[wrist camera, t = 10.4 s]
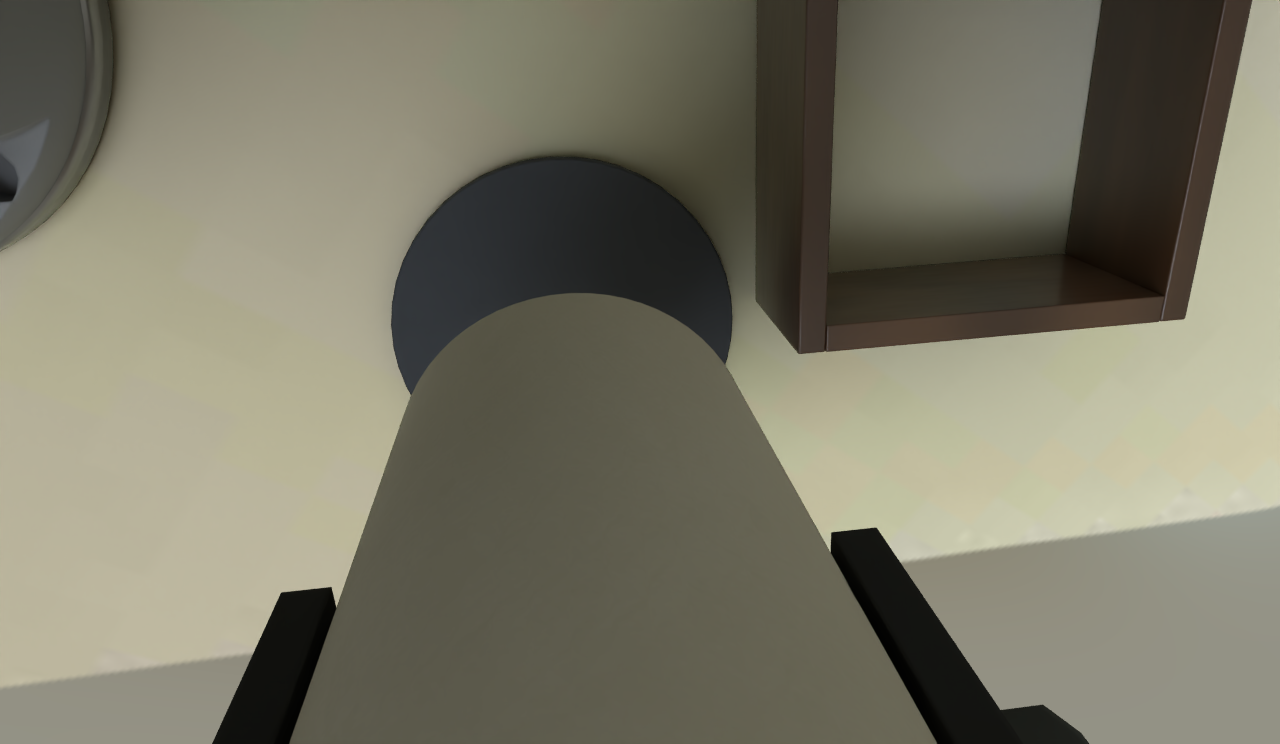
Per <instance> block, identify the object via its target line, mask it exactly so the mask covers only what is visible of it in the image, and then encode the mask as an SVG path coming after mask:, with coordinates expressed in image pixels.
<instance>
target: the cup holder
mask: <svg viewBox="0 0 1280 744" xmlns="http://www.w3.org/2000/svg"><path fill="white" fill-rule="evenodd" d="M1251 4H1252V0H1103V4H1102V11H1101V18H1100V24H1099V31H1098V38H1097V45H1096V51H1095V58H1094V65H1093V72H1092V78H1091V85H1090V92H1089V99H1088V105H1087V112H1086V119H1085V126H1084V132H1083V139H1082V146H1081V152H1080V159H1079V166H1078V173H1077V179H1076V186H1075V193H1074V200H1073V206H1072V213H1071V220H1070V227H1069V233H1068V240H1067V247H1066V253H1065V254H1055V255H1043V256H1031V257H1019V258H1007V259H995V260H982V261H970V262H958V263H946V264H934V265H921V266H909V267H897V268H885V269H873V270H860V271H848V272H836V273H828V259H829V232H830V205H831V178H832V151H833V124H834V97H835V69H836V42H837V15H838V0H757V68H756V302H757V303H758V304H759V305H760V307H761V308H762V309H763V310H764V312H765V313H766V314H767V315H768V317H769V318H770V319H771V320H772V322H773V323H774V324H775V325H776V326H777V328H778V329H779V330H780V331H781V333H782V334H783V335H784V336H785V338H786V339H787V340H788V341H789V343H790V344H791V345H792V346H793V348H794V349H795V350H796V351H797V353H799V354H804V353H815V352H824V351H826V352H829V351H840V350H851V349H863V348H874V347H885V346H896V345H907V344H918V343H929V342H940V341H951V340H962V339H973V338H984V337H996V336H1007V335H1018V334H1029V333H1040V332H1051V331H1062V330H1073V329H1084V328H1095V327H1106V326H1117V325H1129V324H1140V323H1151V322H1159V321H1169V320H1181V319H1185V316H1186V311H1187V307H1188V302H1189V297H1190V292H1191V288H1192V283H1193V278H1194V274H1195V269H1196V264H1197V259H1198V255H1199V250H1200V245H1201V240H1202V236H1203V231H1204V226H1205V221H1206V217H1207V212H1208V207H1209V203H1210V198H1211V193H1212V188H1213V184H1214V179H1215V174H1216V169H1217V165H1218V160H1219V155H1220V151H1221V146H1222V141H1223V136H1224V132H1225V127H1226V122H1227V117H1228V113H1229V108H1230V103H1231V98H1232V94H1233V89H1234V84H1235V80H1236V75H1237V70H1238V65H1239V61H1240V56H1241V51H1242V46H1243V42H1244V37H1245V32H1246V27H1247V23H1248V18H1249V13H1250V9H1251Z"/></svg>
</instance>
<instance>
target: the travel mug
mask: <svg viewBox="0 0 1280 744" xmlns="http://www.w3.org/2000/svg"><path fill="white" fill-rule="evenodd" d="M289 744H937V742H936V740H935V739H934V737H933V735H932V733H931V732H930V730H929V728H928V726H927V724H926V723H925V721H924V719H923V717H922V715H921V714H920V712H919V710H918V708H917V706H916V705H915V703H914V701H913V699H912V698H911V696H910V694H909V692H908V690H907V689H906V687H905V685H904V683H903V681H902V680H901V678H900V676H899V674H898V672H897V671H896V669H895V667H894V665H893V664H892V662H891V660H890V658H889V656H888V655H887V653H886V651H885V649H884V647H883V646H882V644H881V642H880V640H879V638H878V637H877V635H876V633H875V631H874V630H873V628H872V626H871V624H870V622H869V621H868V619H867V617H866V615H865V613H864V612H863V610H862V608H861V606H860V605H859V603H858V601H857V599H856V597H855V596H854V594H853V592H852V590H851V588H850V587H849V585H848V583H847V581H846V579H845V578H844V576H843V574H842V572H841V571H840V569H839V567H838V565H837V563H836V562H835V560H834V558H833V556H832V554H831V553H830V551H829V549H828V547H827V545H826V544H825V542H824V540H823V538H822V537H821V535H820V533H819V531H818V529H817V528H816V526H815V524H814V522H813V520H812V519H811V517H810V515H809V513H808V511H807V510H806V508H805V506H804V504H803V503H802V501H801V499H800V497H799V495H798V494H797V492H796V490H795V488H794V486H793V485H792V483H791V481H790V479H789V478H788V476H787V474H786V472H785V470H784V469H783V467H782V465H781V463H780V461H779V460H778V458H777V456H776V454H775V452H774V451H773V449H772V447H771V445H770V444H769V442H768V440H767V438H766V436H765V435H764V433H763V431H762V429H761V427H760V426H759V424H758V422H757V420H756V418H755V417H754V415H753V413H752V411H751V410H750V408H749V406H748V404H747V402H746V401H745V399H744V397H743V395H742V393H741V392H740V390H739V388H738V386H737V384H736V383H735V381H734V379H733V377H732V376H731V374H730V372H729V371H728V369H727V368H726V366H725V365H724V363H723V362H722V360H721V359H720V358H719V357H718V355H717V354H716V353H715V352H714V350H713V349H712V348H711V347H710V346H709V345H708V344H707V343H706V342H705V341H704V340H703V339H702V338H701V337H699V336H698V335H697V334H696V333H695V332H693V331H692V330H691V329H690V328H688V327H687V326H685V325H684V324H682V323H681V322H679V321H678V320H676V319H675V318H673V317H671V316H669V315H667V314H665V313H663V312H662V311H660V310H657V309H655V308H652V307H650V306H647V305H645V304H643V303H639V302H636V301H632V300H629V299H626V298H621V297H615V296H610V295H603V294H592V293H567V294H556V295H549V296H543V297H538V298H533V299H530V300H526V301H523V302H519V303H516V304H513V305H511V306H508V307H506V308H503V309H501V310H498V311H496V312H494V313H492V314H490V315H488V316H486V317H484V318H482V319H481V320H479V321H478V322H476V323H475V324H473V325H471V326H470V327H468V328H467V329H465V330H464V331H463V332H462V333H460V334H459V335H458V336H457V337H455V338H454V339H453V340H452V341H451V342H450V343H449V344H448V345H447V346H446V347H445V348H444V349H443V350H442V351H441V352H440V353H439V354H438V355H437V356H436V357H435V359H434V360H433V361H432V362H431V363H430V365H429V366H428V367H427V369H426V370H425V372H424V373H423V375H422V376H421V378H420V379H419V381H418V383H417V385H416V387H415V389H414V391H413V393H412V395H411V397H410V400H409V402H408V405H407V408H406V410H405V413H404V416H403V419H402V422H401V425H400V427H399V430H398V433H397V436H396V439H395V442H394V445H393V448H392V450H391V453H390V456H389V459H388V462H387V465H386V468H385V470H384V473H383V476H382V479H381V482H380V485H379V488H378V491H377V493H376V496H375V499H374V502H373V505H372V508H371V511H370V513H369V516H368V519H367V522H366V525H365V528H364V531H363V534H362V536H361V539H360V542H359V545H358V548H357V551H356V554H355V556H354V559H353V562H352V565H351V568H350V571H349V574H348V577H347V579H346V582H345V585H344V588H343V591H342V594H341V597H340V599H339V602H338V605H337V608H336V611H335V614H334V617H333V620H332V622H331V625H330V628H329V631H328V634H327V637H326V640H325V642H324V645H323V648H322V651H321V654H320V657H319V660H318V663H317V665H316V668H315V671H314V674H313V677H312V680H311V683H310V685H309V688H308V691H307V694H306V697H305V700H304V703H303V706H302V708H301V711H300V714H299V717H298V720H297V723H296V726H295V728H294V731H293V734H292V737H291V740H290V743H289Z"/></svg>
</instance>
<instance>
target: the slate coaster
mask: <svg viewBox="0 0 1280 744" xmlns="http://www.w3.org/2000/svg"><path fill="white" fill-rule="evenodd" d="M567 293H592V294H603V295H610V296H615V297H621V298H626V299H629V300H632V301H636V302H639V303H643V304H645V305H647V306H650V307H652V308H655V309H657V310H660V311H662V312H663V313H665V314H667V315H669V316H671V317H673V318H675V319H676V320H678V321H679V322H681V323H682V324H684V325H685V326H687V327H688V328H690V329H691V330H692V331H693V332H695V333H696V334H697V335H698V336H699V337H701V338H702V339H703V340H704V341H705V342H706V343H707V344H708V345H709V346H710V347H711V348H712V349H713V350H714V352H715V353H716V354H717V355H718V357H719V358H720V359H721V360H722V362H723V363H724V365H725V363H726V360H727V357H728V352H729V347H730V342H731V333H732V305H731V295H730V291H729V286H728V281H727V277H726V274H725V271H724V268H723V266H722V263H721V260H720V257H719V255H718V253H717V251H716V250H715V248H714V246H713V244H712V242H711V240H710V238H709V237H708V235H707V234H706V232H705V231H704V230H703V228H702V227H701V226H700V224H699V223H698V221H697V220H696V219H695V218H694V216H693V215H692V214H691V213H690V212H689V211H688V210H687V209H686V208H685V207H684V206H683V205H682V204H681V203H680V202H679V201H678V200H677V199H676V198H674V197H673V196H672V195H671V194H669V193H668V192H667V191H666V190H664V189H663V188H662V187H661V186H659V185H657V184H656V183H654V182H652V181H650V180H649V179H647V178H645V177H644V176H642V175H640V174H638V173H635V172H633V171H631V170H628V169H626V168H623V167H621V166H618V165H615V164H611V163H607V162H603V161H600V160H595V159H588V158H580V157H544V158H537V159H529V160H524V161H521V162H517V163H513V164H510V165H506V166H503V167H501V168H498V169H496V170H494V171H491V172H489V173H487V174H484V175H482V176H480V177H479V178H477V179H475V180H474V181H472V182H470V183H469V184H467V185H465V186H464V187H462V188H461V189H459V190H458V191H457V192H456V193H454V194H453V195H452V196H451V197H450V198H448V199H447V200H446V201H445V202H443V204H442V205H441V206H440V207H439V208H438V209H437V210H436V211H435V212H434V213H433V214H432V215H431V216H430V217H429V219H428V220H427V221H426V223H425V224H424V226H423V227H422V228H421V230H420V231H419V233H418V234H417V236H416V237H415V239H414V240H413V242H412V244H411V246H410V248H409V250H408V252H407V254H406V256H405V258H404V260H403V263H402V266H401V269H400V272H399V275H398V277H397V280H396V285H395V290H394V296H393V301H392V318H391V328H392V337H393V347H394V351H395V355H396V359H397V363H398V367H399V369H400V372H401V374H402V377H403V379H404V382H405V384H406V387H407V389H408V390H409V392H410V394H411V395H412V393H413V391H414V389H415V387H416V385H417V383H418V381H419V379H420V378H421V376H422V375H423V373H424V372H425V370H426V369H427V367H428V366H429V365H430V363H431V362H432V361H433V360H434V359H435V357H436V356H437V355H438V354H439V353H440V352H441V351H442V350H443V349H444V348H445V347H446V346H447V345H448V344H449V343H450V342H451V341H452V340H453V339H454V338H455V337H457V336H458V335H459V334H460V333H462V332H463V331H464V330H465V329H467V328H468V327H470V326H471V325H473V324H475V323H476V322H478V321H479V320H481V319H482V318H484V317H486V316H488V315H490V314H492V313H494V312H496V311H498V310H501V309H503V308H506V307H508V306H511V305H513V304H516V303H519V302H523V301H526V300H530V299H533V298H538V297H543V296H549V295H556V294H567Z"/></svg>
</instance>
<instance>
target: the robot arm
mask: <svg viewBox="0 0 1280 744" xmlns="http://www.w3.org/2000/svg"><path fill="white" fill-rule="evenodd" d="M112 74H113V41H112V29H111V21H110V13H109V6H108V1H107V0H0V251H1V250H3V249H6V248H7V247H9V246H10V245H12V244H14V243H15V242H17V241H19V240H20V239H22V238H24V237H25V236H27V235H28V234H29V233H31V232H32V231H33V230H35V229H36V228H37V227H38V226H40V225H41V224H42V223H44V222H45V221H46V220H47V219H48V218H49V217H50V216H51V215H52V214H53V213H54V212H55V211H56V210H57V209H58V208H59V207H60V206H61V205H62V204H63V202H64V201H65V200H66V199H67V197H68V196H69V195H70V193H71V192H72V191H73V190H74V188H75V187H76V186H77V184H78V182H79V181H80V179H81V177H82V176H83V174H84V172H85V171H86V169H87V167H88V166H89V164H90V161H91V159H92V157H93V154H94V152H95V150H96V148H97V145H98V143H99V140H100V137H101V134H102V131H103V127H104V124H105V121H106V117H107V112H108V106H109V101H110V96H111V87H112ZM831 554H832V556H833V558H834V560H835V562H836V563H837V565H838V567H839V569H840V571H841V572H842V574H843V576H844V578H845V579H846V581H847V583H848V585H849V587H850V588H851V590H852V592H853V594H854V596H855V597H856V599H857V601H858V603H859V605H860V606H861V608H862V610H863V612H864V613H865V615H866V617H867V619H868V621H869V622H870V624H871V626H872V628H873V630H874V631H875V633H876V635H877V637H878V638H879V640H880V642H881V644H882V646H883V647H884V649H885V651H886V653H887V655H888V656H889V658H890V660H891V662H892V664H893V665H894V667H895V669H896V671H897V672H898V674H899V676H900V678H901V680H902V681H903V683H904V685H905V687H906V689H907V690H908V692H909V694H910V696H911V698H912V699H913V701H914V703H915V705H916V706H917V708H918V710H919V712H920V714H921V715H922V717H923V719H924V721H925V723H926V724H927V726H928V728H929V730H930V732H931V733H932V735H933V737H934V739H935V740H936V742H937V744H1089V743H1088V741H1087V740H1086V739H1085V738H1084V736H1083V735H1082V734H1081V733H1080V732H1079V731H1078V730H1076V729H1075V728H1074V727H1072V726H1071V725H1070V724H1068V723H1067V722H1066V721H1064V720H1063V719H1061V718H1060V717H1059V716H1057V715H1056V714H1055V713H1053V712H1052V711H1051V710H1049V709H1048V708H1047V707H1045V706H1044V705H1038V706H1029V707H1022V708H1014V709H1006V710H1000V709H999V707H998V706H997V704H996V703H995V701H994V700H993V698H992V697H991V696H990V694H989V693H988V691H987V690H986V688H985V687H984V685H983V684H982V682H981V681H980V680H979V678H978V676H977V675H976V673H975V672H974V670H973V669H972V667H971V666H970V665H969V663H968V662H967V660H966V659H965V657H964V656H963V654H962V653H961V651H960V650H959V649H958V647H957V645H956V644H955V642H954V641H953V640H952V638H951V637H950V635H949V634H948V632H947V631H946V629H945V628H944V626H943V625H942V623H941V622H940V620H939V619H938V617H937V616H936V615H935V613H934V612H933V610H932V609H931V607H930V606H929V604H928V603H927V601H926V600H925V598H924V597H923V595H922V594H921V593H920V591H919V589H918V588H917V587H916V585H915V584H914V582H913V581H912V579H911V578H910V576H909V575H908V573H907V572H906V570H905V569H904V568H903V566H902V564H901V563H900V562H899V560H898V559H897V557H896V556H895V554H894V553H893V551H892V550H891V548H890V547H889V545H888V544H887V542H886V541H885V539H884V538H883V536H882V535H881V534H880V532H879V531H878V529H877V528H868V529H859V530H849V531H840V532H831ZM335 611H336V604H335V600H334V596H333V592H332V587H328V588H319V589H310V590H301V591H292V592H282V593H281V594H280V596H279V599H278V601H277V603H276V605H275V607H274V610H273V612H272V614H271V616H270V618H269V620H268V623H267V625H266V627H265V629H264V631H263V634H262V636H261V638H260V640H259V642H258V645H257V647H256V649H255V651H254V653H253V655H252V658H251V660H250V662H249V664H248V667H247V669H246V671H245V673H244V675H243V677H242V680H241V682H240V684H239V686H238V688H237V690H236V693H235V695H234V697H233V699H232V701H231V704H230V706H229V708H228V710H227V712H226V715H225V717H224V719H223V721H222V723H221V725H220V728H219V730H218V732H217V735H216V737H215V739H214V741H213V743H212V744H289V743H290V740H291V737H292V734H293V731H294V728H295V726H296V723H297V720H298V717H299V714H300V711H301V708H302V706H303V703H304V700H305V697H306V694H307V691H308V688H309V685H310V683H311V680H312V677H313V674H314V671H315V668H316V665H317V663H318V660H319V657H320V654H321V651H322V648H323V645H324V642H325V640H326V637H327V634H328V631H329V628H330V625H331V622H332V620H333V617H334V614H335Z"/></svg>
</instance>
